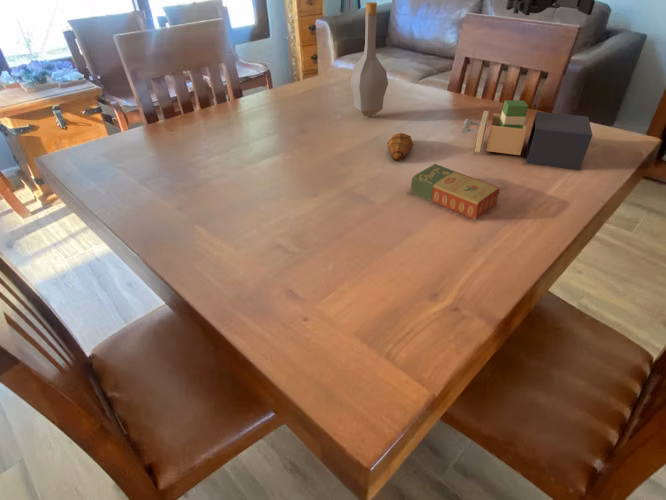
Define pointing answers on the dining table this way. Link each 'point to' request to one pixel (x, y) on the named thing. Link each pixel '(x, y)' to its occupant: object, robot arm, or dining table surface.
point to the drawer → (498, 135)
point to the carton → (455, 190)
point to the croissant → (399, 146)
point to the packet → (513, 114)
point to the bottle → (369, 71)
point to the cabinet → (559, 140)
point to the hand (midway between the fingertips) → (560, 8)
